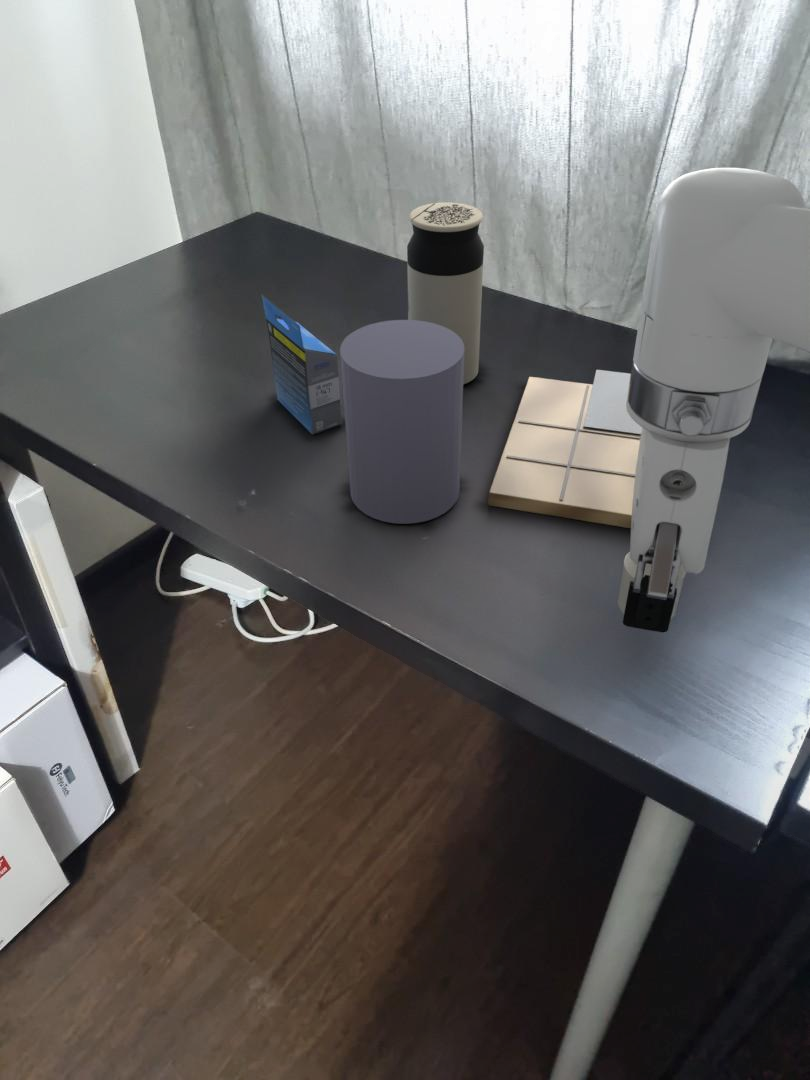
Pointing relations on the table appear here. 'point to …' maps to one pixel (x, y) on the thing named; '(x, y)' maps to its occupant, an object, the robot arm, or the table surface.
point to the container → (403, 418)
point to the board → (571, 451)
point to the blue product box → (303, 372)
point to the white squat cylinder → (630, 571)
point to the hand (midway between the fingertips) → (647, 600)
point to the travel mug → (448, 273)
